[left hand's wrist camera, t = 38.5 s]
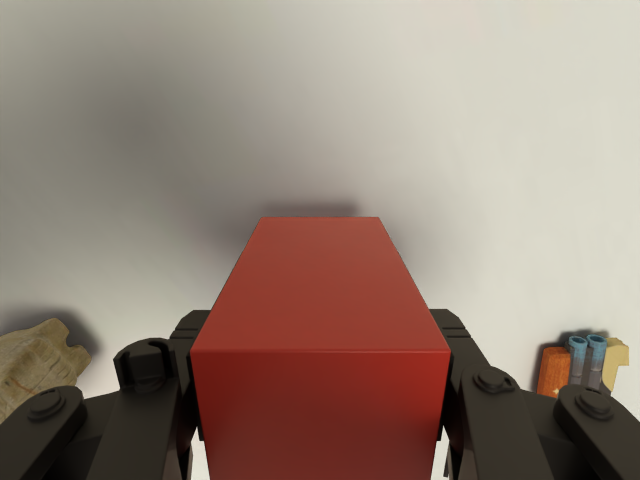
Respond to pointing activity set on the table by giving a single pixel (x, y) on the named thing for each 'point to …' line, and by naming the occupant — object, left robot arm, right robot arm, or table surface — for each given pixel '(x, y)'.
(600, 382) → the toy gun
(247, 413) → the block
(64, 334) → the sculpture
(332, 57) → the table surface
